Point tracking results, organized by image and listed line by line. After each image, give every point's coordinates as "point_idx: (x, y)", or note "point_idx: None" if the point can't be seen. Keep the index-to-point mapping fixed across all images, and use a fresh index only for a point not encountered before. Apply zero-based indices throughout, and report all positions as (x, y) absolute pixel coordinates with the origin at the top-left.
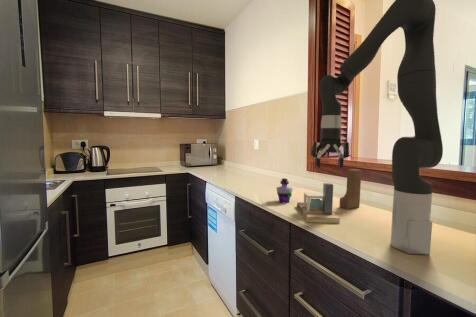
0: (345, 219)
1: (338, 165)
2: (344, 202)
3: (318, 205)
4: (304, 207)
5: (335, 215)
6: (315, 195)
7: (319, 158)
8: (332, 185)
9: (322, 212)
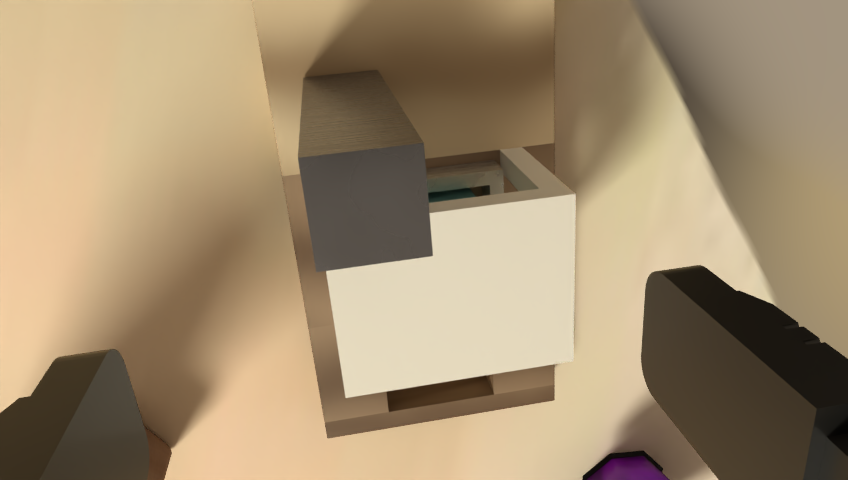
0: (173, 91)
1: (131, 476)
2: None
3: None
4: None
5: (274, 47)
6: (480, 232)
7: (831, 441)
8: (310, 155)
9: None
